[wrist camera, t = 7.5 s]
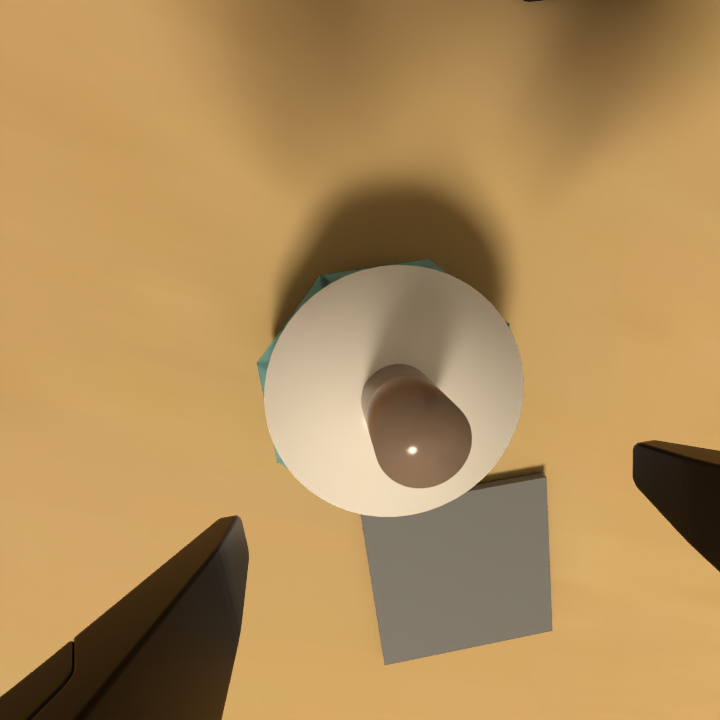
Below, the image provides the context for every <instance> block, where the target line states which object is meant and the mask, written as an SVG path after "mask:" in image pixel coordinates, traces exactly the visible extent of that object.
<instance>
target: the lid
mask: <svg viewBox="0 0 720 720" xmlns="http://www.w3.org/2000/svg"><path fill="white" fill-rule="evenodd" d="M523 383H524V379H523V370H522V362H521V358H520V354H519V350H518V347H517V344H516V342H515V340H514V337H513V335H512V332H511V331H510V329H509V327H508V325H507V324H506V322H505V320H504V318H503V317H502V316H501V315H500V313H499V312H498V311H497V309H496V308H495V307H494V306H493V305H492V304H491V303H490V302H489V301H488V300H487V299H486V298H485V297H484V296H483V295H482V294H481V293H480V292H478V291H477V290H475V289H474V288H473V287H471V286H470V285H468V284H467V283H465V282H463V281H461V280H459V279H457V278H455V277H454V276H452V275H449V274H446V273H443V272H440V271H438V270H435V269H430V268H425V267H420V266H409V265H391V266H379V267H374V268H370V269H365V270H361V271H358V272H355V273H352V274H349V275H347V276H344V277H342V278H340V279H338V280H336V281H334V282H332V283H330V284H329V285H327V286H326V287H324V288H323V289H321V290H320V291H319V292H317V293H316V294H314V295H313V296H312V297H311V298H310V299H309V300H308V301H307V302H306V303H305V304H303V305H302V306H301V308H300V309H299V310H298V311H297V312H296V314H295V315H294V316H293V317H292V318H291V320H290V321H289V322H288V324H287V325H286V327H285V329H284V330H283V332H282V333H281V335H280V337H279V339H278V341H277V343H276V345H275V348H274V350H273V352H272V355H271V358H270V362H269V365H268V368H267V373H266V380H265V387H264V406H265V414H266V421H267V425H268V429H269V432H270V436H271V438H272V441H273V443H274V445H275V448H276V450H277V452H278V454H279V455H280V457H281V459H282V460H283V462H284V464H285V465H286V467H287V468H288V469H289V470H290V472H291V473H292V474H293V475H294V476H295V478H296V479H297V480H298V481H299V482H301V483H302V484H303V485H304V486H305V487H306V488H307V489H308V490H310V491H311V492H312V493H314V494H315V495H317V496H318V497H319V498H321V499H323V500H325V501H327V502H328V503H330V504H332V505H334V506H337V507H339V508H342V509H344V510H347V511H350V512H354V513H358V514H362V515H369V516H377V517H399V516H407V515H413V514H418V513H422V512H426V511H429V510H432V509H434V508H437V507H440V506H442V505H444V504H446V503H448V502H450V501H452V500H454V499H456V498H458V497H459V496H461V495H462V494H464V493H465V492H467V491H468V490H470V489H471V488H472V487H474V486H475V485H476V484H477V483H478V482H479V481H481V480H482V479H483V478H484V477H485V476H486V475H487V474H488V472H489V471H490V470H491V469H492V468H493V467H494V466H495V464H496V463H497V462H498V460H499V459H500V458H501V456H502V455H503V453H504V451H505V450H506V448H507V446H508V444H509V443H510V441H511V438H512V436H513V434H514V431H515V429H516V427H517V423H518V420H519V416H520V413H521V407H522V400H523Z"/></svg>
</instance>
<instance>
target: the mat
mask: <svg viewBox="0 0 720 720" xmlns="http://www.w3.org/2000/svg"><path fill="white" fill-rule="evenodd" d="M361 519H362V525H363V532H364V538H365V544H366V551H367V557H368V563H369V569H370V576H371V582H372V588H373V594H374V601H375V607H376V613H377V620H378V626H379V632H380V638H381V645H382V651H383V657H384V664H385V665H389V664H394V663H398V662H403V661H408V660H413V659H418V658H423V657H428V656H432V655H437V654H442V653H447V652H452V651H457V650H461V649H466V648H471V647H476V646H481V645H486V644H491V643H495V642H500V641H505V640H510V639H515V638H520V637H524V636H529V635H534V634H539V633H544V632H549V631H552V609H551V584H550V558H549V533H548V508H547V483H546V477H545V476H544V475H543V474H542V473H536V474H531V475H525V476H520V477H514V478H509V479H503V480H498V481H492V482H487V483H481V484H476V485H475V486H474V487H472V488H471V489H470V490H468V491H467V492H465V493H464V494H462V495H461V496H459V497H458V498H456V499H454V500H452V501H450V502H448V503H446V504H444V505H442V506H440V507H437V508H434V509H432V510H429V511H426V512H422V513H418V514H413V515H407V516H399V517H377V516H369V515H362V514H361Z"/></svg>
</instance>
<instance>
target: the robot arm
mask: <svg viewBox="0 0 720 720" xmlns="http://www.w3.org/2000/svg"><path fill="white" fill-rule="evenodd" d="M524 1H528V2H531V1H541V0H524ZM633 480H634V482H635V484H636V486H637V487H638V489H639V490H640V491H641V492H642V493H643V494H644V495H645V496H646V497H647V498H648V500H649V501H650V502H651V503H652V504H653V505H654V506H655V507H656V508H657V509H658V510H659V511H660V513H661V514H662V515H663V516H664V517H665V518H666V519H667V520H668V521H669V522H670V523H671V525H672V526H673V527H674V528H675V529H676V530H677V531H678V532H679V533H680V534H681V535H682V536H683V537H684V538H685V539H686V540H687V542H688V543H689V544H690V545H691V546H692V547H694V548H695V549H696V550H697V551H698V552H699V553H700V554H701V555H702V556H703V557H704V558H705V559H706V560H707V561H708V562H710V563H711V564H712V565H713V566H714V567H715V568H716V569H717V570H718V571H719V572H720V451H717V450H711V449H705V448H699V447H693V446H687V445H681V444H675V443H669V442H663V441H656V440H652V441H646V442H640V443H637V444H636V445H635V446H634V448H633ZM248 562H249V551H248V546H247V541H246V537H245V533H244V528H243V524H242V520H241V518H240V517H239V516H236V515H235V516H229V517H224V518H220V519H218V520H217V521H216V522H215V523H213V524H212V525H211V526H210V527H209V528H207V529H206V530H205V531H204V532H202V533H201V534H200V535H199V536H198V537H196V538H195V539H194V540H193V541H192V542H190V543H189V544H188V545H187V546H185V547H184V548H183V549H182V550H181V551H179V552H178V553H177V554H176V555H174V556H173V557H172V558H171V559H170V560H168V561H167V562H166V563H165V564H163V565H162V566H161V567H160V568H159V569H157V570H156V571H155V572H154V573H153V574H151V575H150V576H149V577H148V578H146V579H145V580H144V581H143V582H142V583H140V584H139V585H138V586H137V587H135V588H134V589H133V590H132V591H131V592H129V593H128V594H127V595H126V596H124V597H123V598H122V599H121V600H120V601H118V602H117V603H116V604H115V605H114V606H112V607H111V608H110V609H109V610H107V611H106V612H105V613H104V614H103V615H101V616H100V617H99V618H98V619H96V620H95V621H94V622H93V623H92V624H90V625H89V626H88V627H87V628H85V629H84V630H83V631H82V632H81V633H79V634H78V635H77V636H76V637H75V638H74V642H73V641H70V642H68V643H67V644H66V645H65V646H63V647H62V648H61V649H60V650H59V651H57V652H56V653H55V654H54V655H53V656H51V657H50V658H49V659H48V660H46V661H45V662H44V663H43V664H41V665H40V666H39V667H38V668H36V669H35V670H34V671H33V672H31V673H30V674H29V675H28V676H26V677H25V678H24V679H23V680H21V681H20V682H19V683H18V684H16V685H15V686H14V687H13V688H11V689H10V690H9V691H7V692H6V693H5V694H4V695H2V696H1V697H0V720H221V719H222V715H223V710H224V706H225V701H226V697H227V692H228V688H229V683H230V679H231V674H232V670H233V665H234V661H235V656H236V652H237V647H238V642H239V637H240V632H241V624H242V616H243V607H244V598H245V589H246V580H247V571H248Z"/></svg>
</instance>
